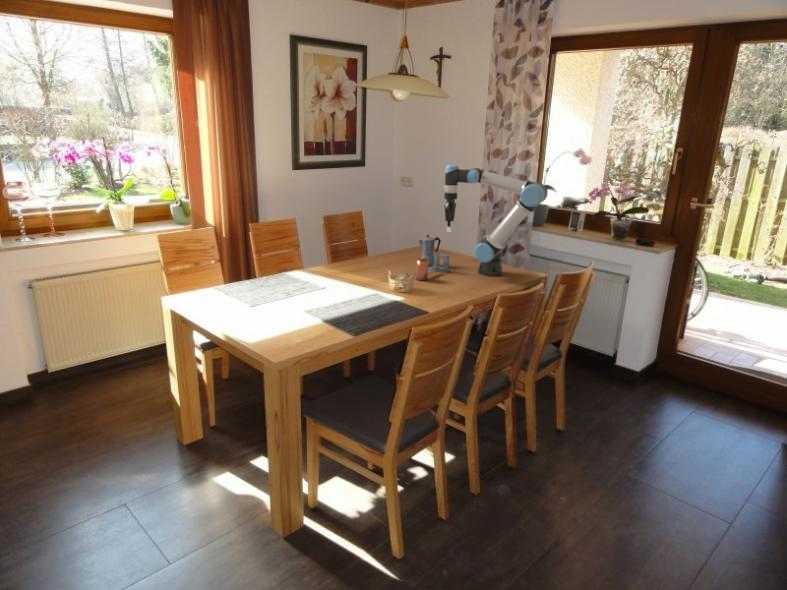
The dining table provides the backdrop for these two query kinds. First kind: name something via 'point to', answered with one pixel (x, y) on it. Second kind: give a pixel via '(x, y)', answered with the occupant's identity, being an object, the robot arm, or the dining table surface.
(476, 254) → the robot arm
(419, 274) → the copper container
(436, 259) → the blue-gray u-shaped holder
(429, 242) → the moka pot
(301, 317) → the dining table surface
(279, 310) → the dining table surface
